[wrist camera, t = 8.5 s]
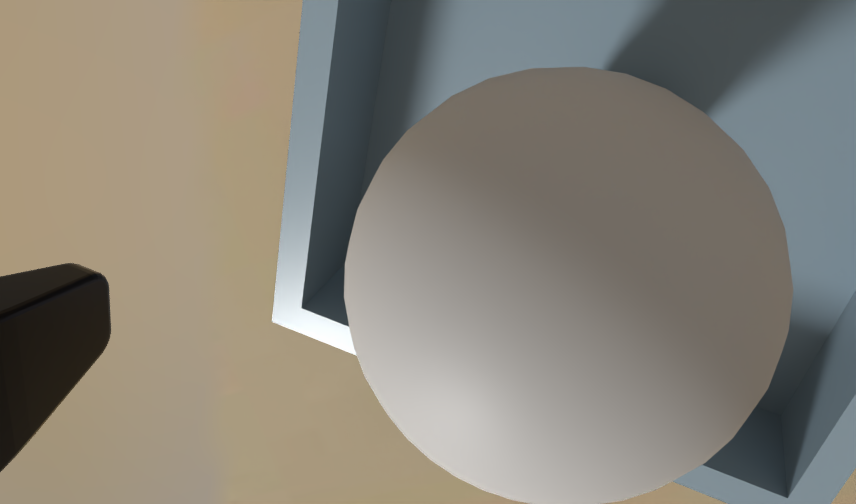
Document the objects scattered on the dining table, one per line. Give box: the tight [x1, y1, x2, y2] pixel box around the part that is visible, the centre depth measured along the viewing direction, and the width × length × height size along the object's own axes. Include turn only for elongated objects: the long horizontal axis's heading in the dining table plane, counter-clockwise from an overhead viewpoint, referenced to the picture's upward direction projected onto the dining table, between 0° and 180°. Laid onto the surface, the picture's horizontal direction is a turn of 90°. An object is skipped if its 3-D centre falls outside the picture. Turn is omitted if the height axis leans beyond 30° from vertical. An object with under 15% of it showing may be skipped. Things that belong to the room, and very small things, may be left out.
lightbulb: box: [344, 67, 793, 504], centre depth 13 cm, size 6×6×11 cm
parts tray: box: [272, 0, 856, 504], centre depth 17 cm, size 14×14×4 cm
